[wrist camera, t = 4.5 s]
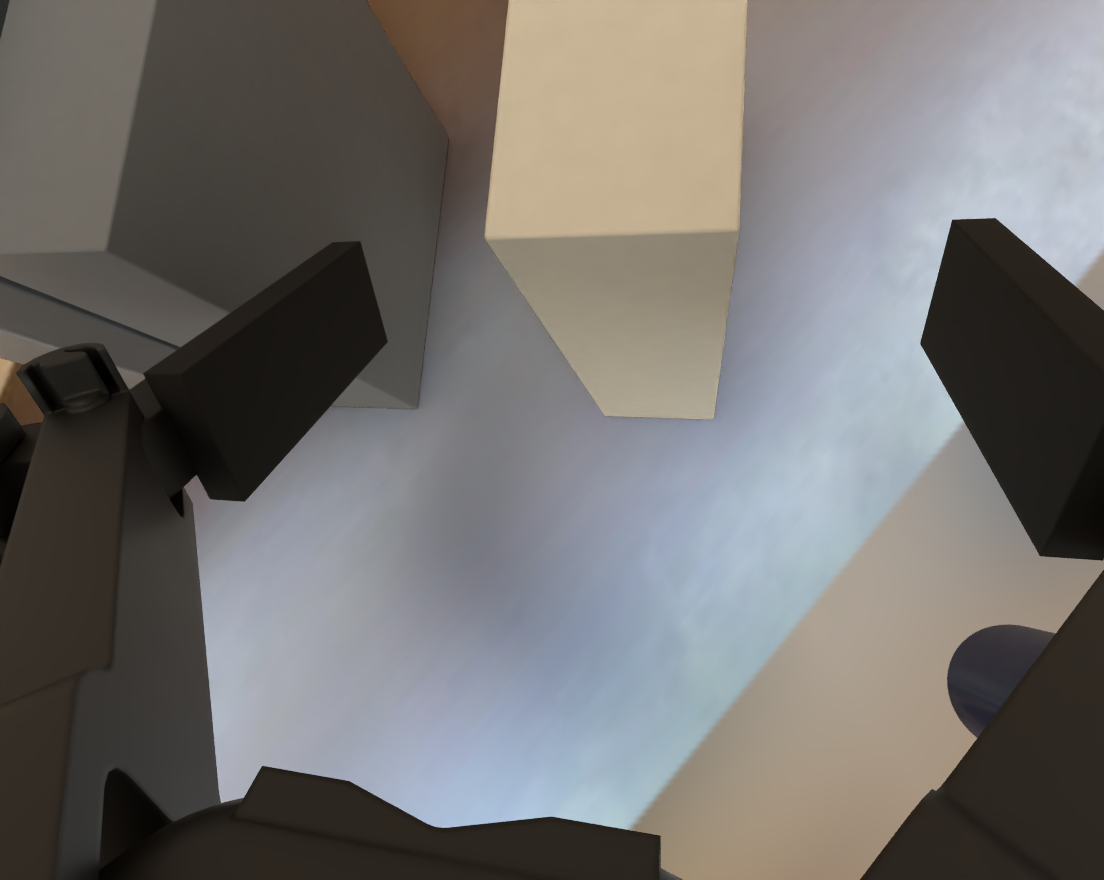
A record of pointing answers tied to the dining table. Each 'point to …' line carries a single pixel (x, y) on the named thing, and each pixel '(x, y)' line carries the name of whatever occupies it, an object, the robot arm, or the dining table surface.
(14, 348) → the grey books
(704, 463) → the dining table surface
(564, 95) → the white book
